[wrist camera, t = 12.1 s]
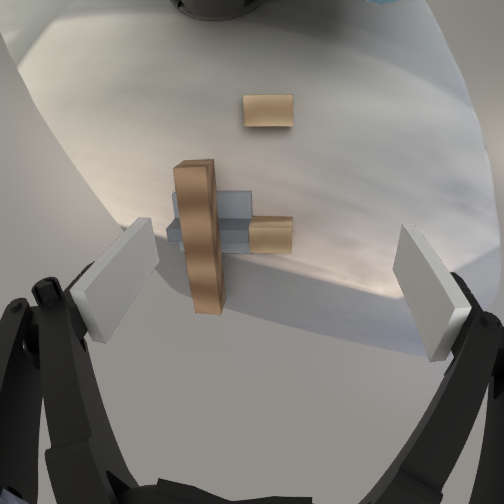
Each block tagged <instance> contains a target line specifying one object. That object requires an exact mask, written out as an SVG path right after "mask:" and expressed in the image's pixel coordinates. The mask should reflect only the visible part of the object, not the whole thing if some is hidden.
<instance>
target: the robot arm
mask: <svg viewBox="0 0 504 504" xmlns="http://www.w3.org/2000/svg"><path fill="white" fill-rule="evenodd" d="M170 1H171V2H172V4H173V5H174V6H175V7H177V8H178V9H179V10H181V11H182V12H184V13H186V14H187V15H189V16H192V17H194V18H197V19H201V20H208V21H221V20H228V19H233V18H236V17H239V16H242V15H244V14H247V13H249V12H250V11H252V10H254V9H255V8H257V7H258V6H259V5H261V4H262V3H263V2H264V1H265V0H170ZM365 1H368V2H372V3H375V4H387V3H394V2H396V1H398V0H365ZM158 263H159V257H158V253H157V248H156V243H155V238H154V233H153V228H152V222H151V218H138V219H137V220H136V221H135V222H134V223H133V224H132V225H131V226H130V227H129V228H127V229H126V230H125V231H124V232H123V233H122V234H121V235H120V236H119V237H118V239H116V241H115V242H114V243H113V244H112V245H111V246H110V247H109V248H108V249H107V250H106V251H105V252H104V253H103V254H102V255H101V256H100V257H99V258H98V259H97V260H96V261H94V262H93V263H91V264H89V265H88V266H86V267H85V269H84V270H83V271H82V272H81V274H79V275H78V276H77V277H76V279H75V280H73V281H72V283H71V284H70V285H69V286H68V287H67V288H66V289H65V290H64V292H63V291H62V289H61V286H60V284H59V281H58V279H57V278H55V277H48V278H44V279H42V280H40V281H39V282H37V283H36V284H35V285H34V286H33V288H32V290H31V291H32V293H33V295H34V298H35V300H36V302H37V304H38V306H33V307H30V305H29V303H28V302H27V299H25V298H18V299H15V300H14V301H11V302H10V304H8V306H7V307H6V309H5V311H4V313H3V316H2V318H1V320H0V504H37V498H38V446H39V444H38V443H39V428H40V415H41V406H42V398H43V399H44V405H45V413H46V419H47V425H48V431H49V436H50V441H51V448H50V449H47V450H46V451H45V461H46V465H47V470H48V474H49V478H50V481H51V485H52V489H53V492H54V495H55V499H56V502H57V504H313V503H312V497H279V496H272V497H265V498H257V499H249V500H240V501H229V500H226V499H223V498H221V497H218V496H216V495H213V494H211V493H208V492H206V491H204V490H201V489H199V488H197V487H194V486H190V485H186V484H181V483H177V482H172V481H168V480H164V479H160V478H158V482H157V485H145V486H140V487H139V485H138V484H137V482H136V481H135V479H134V478H133V476H132V475H131V473H130V472H129V470H128V468H127V466H126V464H125V461H124V459H123V457H122V454H121V452H120V449H119V447H118V444H117V442H116V439H115V436H114V434H113V431H112V428H111V425H110V423H109V420H108V417H107V414H106V411H105V408H104V405H103V402H102V398H101V395H100V392H99V389H98V385H97V382H96V378H95V375H94V371H93V368H92V363H91V359H90V355H89V352H88V347H87V343H86V341H85V339H84V336H85V334H86V333H87V331H88V333H89V335H90V337H91V339H92V341H96V342H100V343H105V344H106V343H107V342H108V340H109V339H110V337H111V335H112V334H113V332H114V330H115V329H116V327H117V325H118V324H119V322H120V321H121V319H122V318H123V316H124V314H125V313H126V311H127V310H128V308H129V307H130V305H131V303H132V302H133V300H134V299H135V297H136V296H137V294H138V293H139V291H140V290H141V288H142V287H143V285H144V283H145V282H146V281H147V279H148V278H149V276H150V275H151V273H152V272H153V270H154V269H155V267H156V266H157V264H158ZM393 271H394V273H395V276H396V278H397V280H398V282H399V285H400V287H401V289H402V292H403V294H404V296H405V299H406V301H407V303H408V306H409V308H410V311H411V313H412V316H413V318H414V321H415V323H416V326H417V329H418V331H419V334H420V336H421V339H422V342H423V345H424V347H425V350H426V353H427V356H428V359H429V361H430V362H435V361H444V360H446V358H447V356H448V355H449V353H450V351H452V353H453V356H454V358H453V360H452V362H451V363H450V365H449V367H448V369H447V370H446V372H445V374H444V375H445V376H444V378H443V380H442V382H441V384H440V386H439V388H438V390H437V392H436V394H435V395H434V397H433V399H432V401H431V403H430V405H429V407H428V408H427V410H426V412H425V413H424V415H423V417H422V419H421V420H420V422H419V423H418V425H417V427H416V428H415V430H414V431H413V433H412V435H411V436H410V438H409V439H408V441H407V442H406V444H405V445H404V447H403V448H402V450H401V451H400V453H399V454H398V455H397V457H396V458H395V460H394V461H393V462H392V464H391V465H390V467H389V468H388V469H387V471H386V472H385V473H384V474H383V476H382V477H381V478H380V480H379V481H378V482H377V483H376V485H375V486H374V487H373V488H372V490H371V491H370V492H369V493H368V494H367V495H366V496H365V498H364V499H363V500H362V501H361V502H360V503H359V504H440V503H441V501H442V498H443V494H442V492H441V491H442V488H443V486H444V484H445V482H446V480H447V479H448V477H449V475H450V473H451V471H452V469H453V468H454V466H455V463H456V462H457V460H458V458H459V456H460V454H461V451H462V449H463V447H464V445H465V443H466V441H467V439H468V436H469V434H470V432H471V429H472V427H473V424H474V422H475V420H476V417H477V415H478V412H479V409H480V406H481V404H482V401H483V398H484V395H485V392H486V389H487V386H488V383H489V387H488V401H487V412H486V422H485V429H484V437H483V443H482V449H481V455H480V460H479V465H478V470H477V474H476V478H475V482H474V486H473V490H472V494H471V498H470V501H469V504H504V327H503V326H502V324H501V321H500V320H499V319H498V318H497V317H496V316H495V315H493V314H492V313H489V312H486V311H483V310H482V308H481V307H480V305H479V303H478V302H477V300H476V299H475V297H474V296H473V294H471V291H470V289H469V288H467V285H466V283H465V282H464V280H463V279H462V278H461V277H460V276H458V275H457V274H456V273H455V272H449V271H448V269H447V268H446V266H445V265H444V263H443V262H442V260H441V259H440V257H439V256H438V255H437V253H436V252H435V250H434V249H433V248H432V246H431V245H430V243H429V242H428V241H427V239H426V238H425V237H424V235H423V234H422V233H421V231H420V230H419V229H418V227H417V226H416V225H415V224H402V228H401V233H400V238H399V243H398V248H397V252H396V257H395V262H394V266H393ZM23 345H24V349H23Z"/></svg>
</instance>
